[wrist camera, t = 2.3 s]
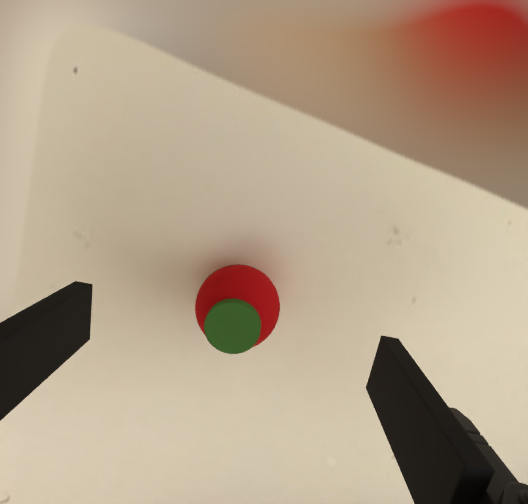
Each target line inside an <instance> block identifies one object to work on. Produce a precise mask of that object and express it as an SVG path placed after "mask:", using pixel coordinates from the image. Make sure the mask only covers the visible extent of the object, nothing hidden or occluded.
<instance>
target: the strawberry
mask: <svg viewBox="0 0 528 504" xmlns="http://www.w3.org/2000/svg"><path fill="white" fill-rule="evenodd" d="M195 311H196V318H197V321H198V324H199V326H200V328H201V330H202V332H203V333H204V334H205V336H206V337H207V339H208V341H209V342H210V344H211V345H212V346H213V347H215V348H216V349H218V350H220V351H222V352H224V353H229V354H238V353H242V352H245V351H247V350H249V349H250V348H252V347H254V346H256V345H258V344H260V343H261V342H262V341H264V340H265V339H266V338H267V337H268V336H269V335H270V334H271V332H272V331H273V329H274V328H275V325H276V323H277V321H278V317H279V311H280V303H279V297H278V293H277V291H276V288H275V286H274V285H273V283H272V282H271V280H270V279H269V278H268V277H267V276H266V275H265V274H264V273H262V272H261V271H259V270H257V269H255V268H253V267H250V266H246V265H230V266H226V267H223V268H221V269H219V270H217V271H215V272H214V273H212V274H211V275H210V276H209V277H208V278H207V279H206V280H205V281H204V283H203V284H202V286H201V288H200V289H199V292H198V295H197V298H196V305H195Z"/></svg>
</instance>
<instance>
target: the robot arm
mask: <svg viewBox="0 0 528 504" xmlns="http://www.w3.org/2000/svg"><path fill="white" fill-rule="evenodd" d="M91 304H92V284H88V283H83V282H77V281H75V282H73V283H71V284H70V285H68V286H66V287H64V288H62V289H60V290H59V291H57V292H55V293H53V294H51V295H50V296H48V297H46V298H44V299H42V300H41V301H39V302H37V303H35V304H33V305H32V306H30V307H28V308H26V309H24V310H22V311H21V312H19V313H17V314H15V315H13V316H12V317H10V318H8V319H6V320H5V321H3V322H1V323H0V420H2V419H3V418H4V417H5V416H6V415H7V414H8V413H9V412H10V411H11V410H13V409H14V408H15V407H16V406H17V405H18V404H19V403H20V402H21V401H22V400H24V399H25V398H26V397H27V396H28V395H29V394H30V393H31V392H32V391H33V390H35V389H36V388H37V387H38V386H39V385H40V384H41V383H42V382H43V381H44V380H46V379H47V378H48V377H49V376H50V375H51V374H52V373H53V372H54V371H55V370H57V369H58V368H59V367H60V366H61V365H62V364H63V363H64V362H65V361H66V360H68V359H69V358H70V357H71V356H72V355H73V354H74V353H75V352H76V351H77V350H79V349H80V348H81V347H82V346H83V345H84V344H85V343H86V342H87V341H88V340H90V324H91ZM366 389H367V391H368V394H369V396H370V399H371V401H372V403H373V406H374V408H375V410H376V413H377V415H378V418H379V420H380V422H381V425H382V427H383V430H384V432H385V434H386V437H387V439H388V441H389V444H390V446H391V449H392V451H393V453H394V456H395V458H396V460H397V463H398V465H399V468H400V470H401V472H402V475H403V477H404V479H405V482H406V484H407V487H408V489H409V491H410V494H411V496H412V499H413V501H414V503H415V504H528V485H526V484H523V483H519V482H518V481H517V479H516V478H515V477H514V476H513V474H512V473H511V472H510V470H509V469H508V468H507V467H506V465H505V464H504V463H503V462H502V460H501V459H500V458H499V456H498V455H497V454H496V453H495V451H494V450H493V449H492V447H491V446H489V445H488V442H487V441H486V440H485V439H484V437H483V436H482V435H480V432H479V431H478V430H477V428H476V427H475V426H474V424H473V423H472V422H471V421H470V420H469V419H468V418H467V417H466V416H464V415H463V414H462V413H461V412H460V411H458V410H457V409H455V408H450V407H448V406H447V404H446V403H445V402H444V400H443V399H442V398H441V396H440V395H439V394H438V392H437V391H436V390H435V388H434V387H433V385H432V384H431V383H430V381H429V380H428V379H427V377H426V376H425V375H424V373H423V372H422V370H421V369H420V368H419V366H418V365H417V364H416V362H415V361H414V360H413V358H412V357H411V356H410V354H409V353H408V351H407V350H406V349H405V347H404V346H403V345H402V343H401V342H400V341H399V339H397V338H392V337H386V336H381V339H380V342H379V346H378V349H377V352H376V356H375V359H374V362H373V366H372V369H371V373H370V376H369V379H368V383H367V386H366Z"/></svg>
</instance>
